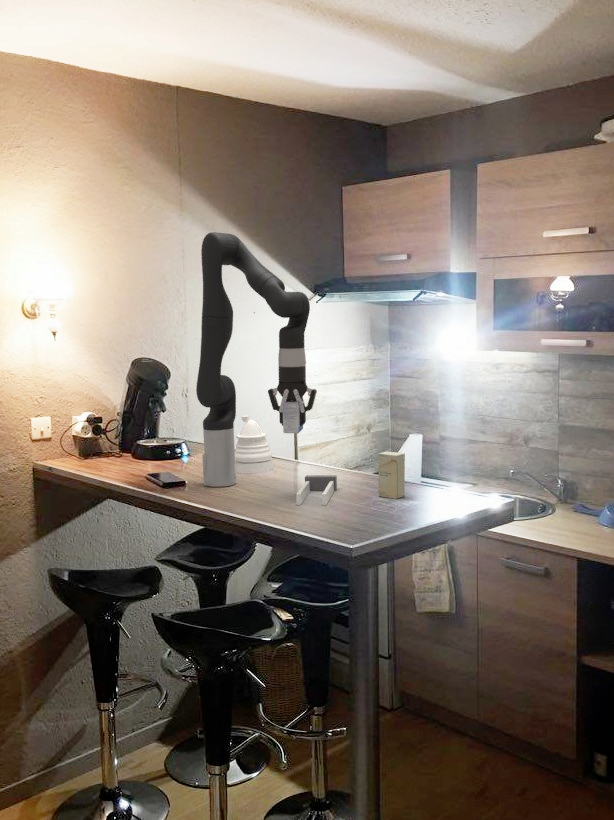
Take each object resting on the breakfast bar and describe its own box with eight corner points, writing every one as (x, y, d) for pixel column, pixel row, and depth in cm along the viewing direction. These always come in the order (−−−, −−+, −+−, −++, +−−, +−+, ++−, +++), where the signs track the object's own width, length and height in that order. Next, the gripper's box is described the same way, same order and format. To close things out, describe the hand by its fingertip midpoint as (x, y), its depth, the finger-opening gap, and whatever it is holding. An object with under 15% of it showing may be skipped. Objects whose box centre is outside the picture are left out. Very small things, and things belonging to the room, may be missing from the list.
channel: (294, 505, 226) (294, 490, 226) (306, 488, 247) (306, 475, 246) (328, 505, 225) (327, 490, 225) (337, 488, 245) (336, 475, 245)
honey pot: (230, 473, 273) (227, 419, 271) (238, 466, 286) (235, 413, 284) (269, 473, 272) (267, 418, 270) (275, 466, 285) (273, 413, 282)
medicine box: (298, 433, 232) (298, 402, 231) (282, 433, 233) (282, 402, 232) (303, 429, 240) (303, 399, 239) (287, 429, 240) (287, 398, 239)
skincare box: (378, 496, 233) (377, 453, 232) (387, 493, 237) (386, 450, 235) (397, 499, 230) (396, 455, 228) (406, 496, 233) (405, 452, 232)
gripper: (263, 365, 231) (264, 427, 233) (315, 365, 228) (315, 428, 230) (269, 363, 238) (270, 423, 240) (319, 363, 236) (320, 423, 238)
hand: (292, 425), depth 235 cm, fingers closed on medicine box, 4 cm apart
